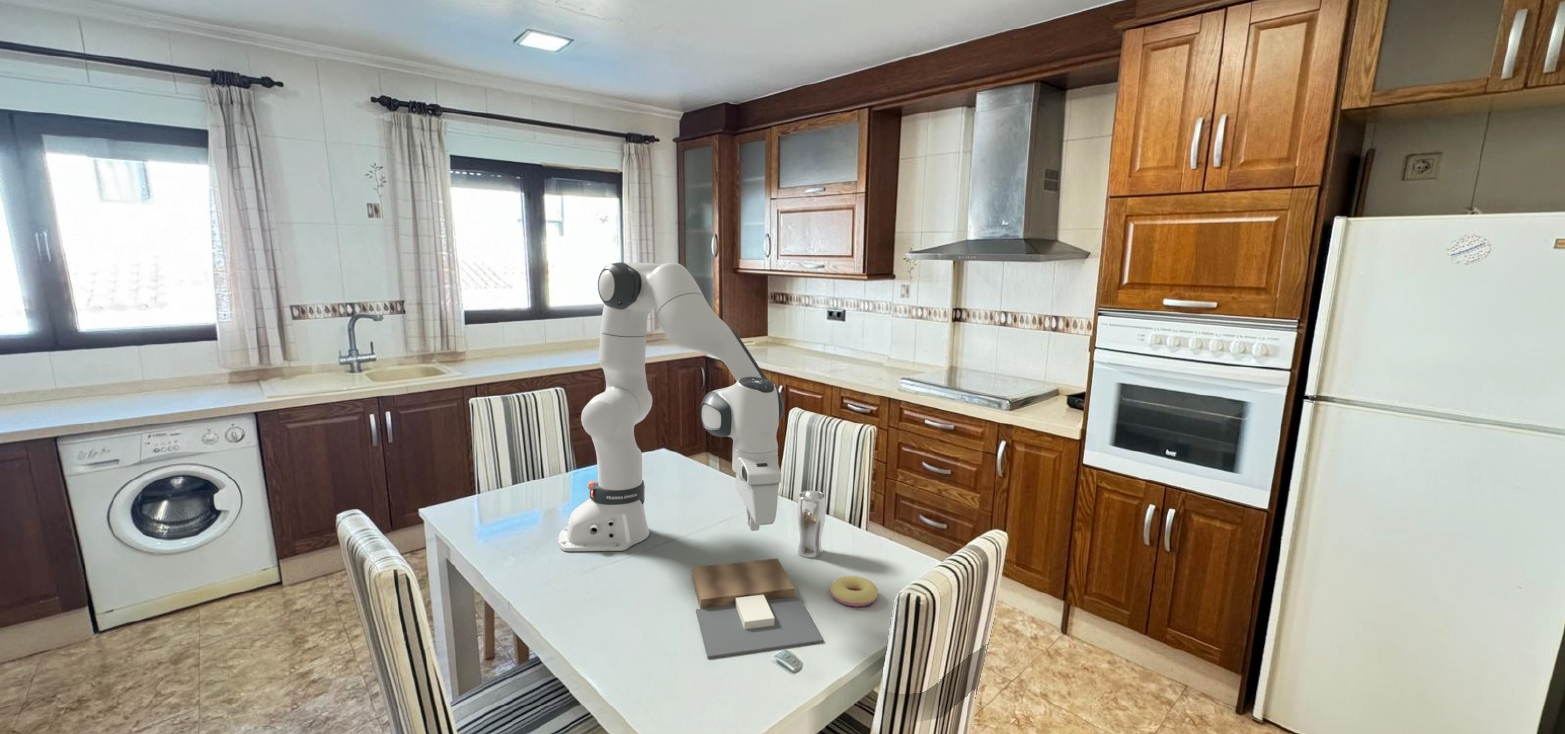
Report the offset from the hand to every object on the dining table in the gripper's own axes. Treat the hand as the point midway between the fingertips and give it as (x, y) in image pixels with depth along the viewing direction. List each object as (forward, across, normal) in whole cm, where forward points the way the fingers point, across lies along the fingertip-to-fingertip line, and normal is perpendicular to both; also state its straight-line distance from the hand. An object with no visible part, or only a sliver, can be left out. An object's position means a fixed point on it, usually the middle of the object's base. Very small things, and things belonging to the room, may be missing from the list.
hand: (753, 527), depth 125 cm
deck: (+19, -11, 0) cm, 22 cm away
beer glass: (+19, -24, +20) cm, 37 cm away
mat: (+19, +4, 0) cm, 19 cm away
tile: (+18, +1, 0) cm, 18 cm away
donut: (+19, -2, +23) cm, 30 cm away
